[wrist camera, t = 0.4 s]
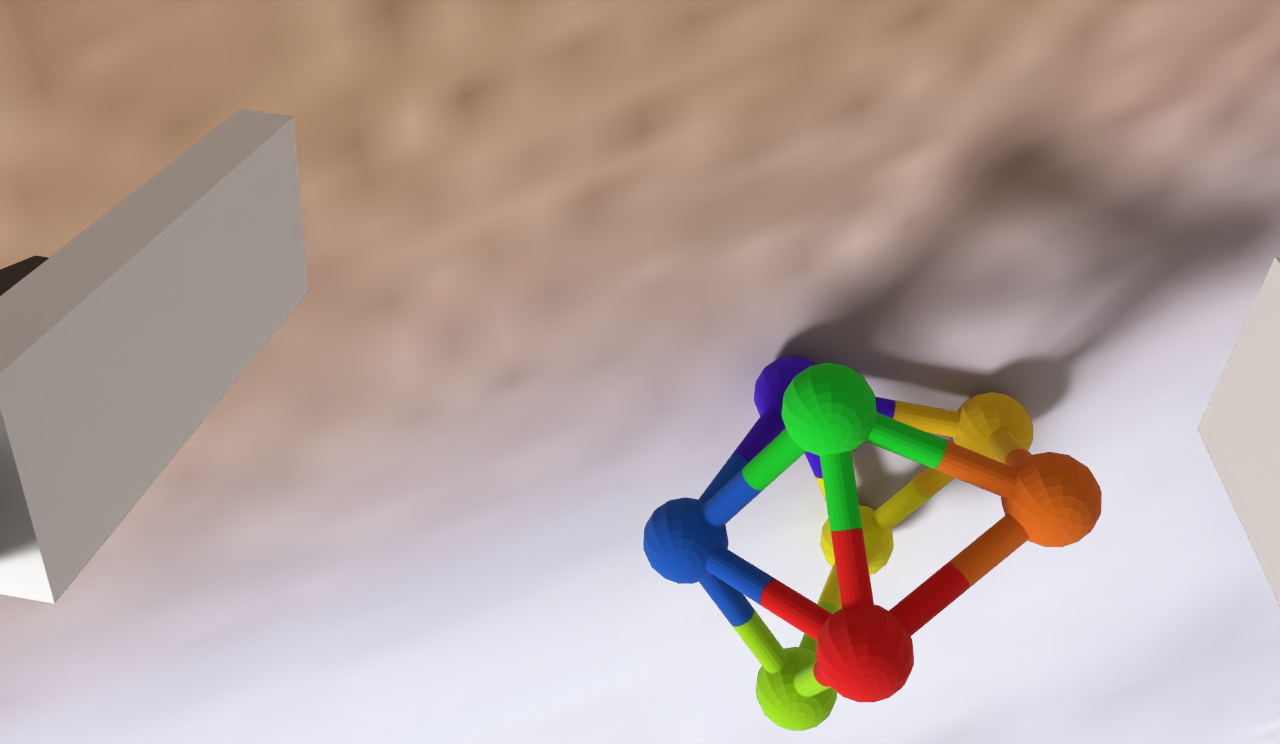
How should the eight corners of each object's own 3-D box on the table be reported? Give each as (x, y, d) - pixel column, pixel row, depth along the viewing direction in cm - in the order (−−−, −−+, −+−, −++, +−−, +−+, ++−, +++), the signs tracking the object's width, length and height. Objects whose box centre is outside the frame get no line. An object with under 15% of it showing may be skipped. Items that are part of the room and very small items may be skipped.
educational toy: (782, 210, 43) (791, 399, 30) (1064, 354, 45) (1188, 592, 32) (611, 499, 51) (558, 754, 37) (860, 615, 52) (893, 898, 39)
